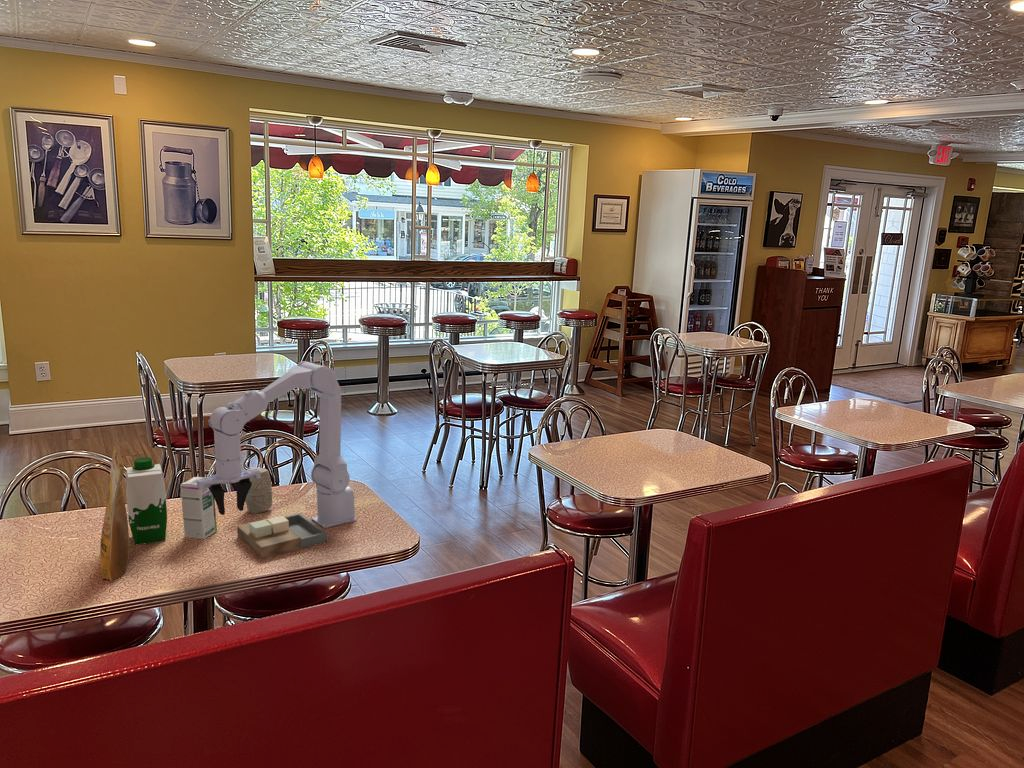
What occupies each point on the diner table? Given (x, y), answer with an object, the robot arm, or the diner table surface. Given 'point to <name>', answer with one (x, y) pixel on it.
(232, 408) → the robot arm
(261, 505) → the carving
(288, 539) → the board
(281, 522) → the tile
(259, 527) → the tile
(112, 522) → the pancake mix bag
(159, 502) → the milk carton
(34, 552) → the diner table surface
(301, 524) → the box
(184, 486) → the syrup box
